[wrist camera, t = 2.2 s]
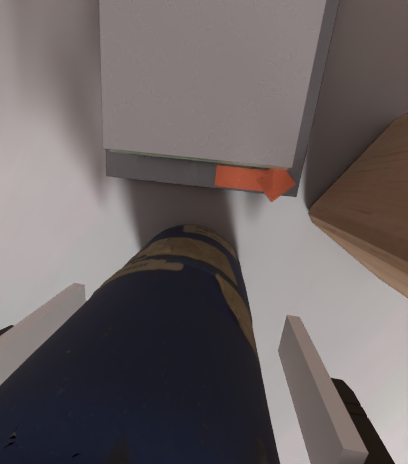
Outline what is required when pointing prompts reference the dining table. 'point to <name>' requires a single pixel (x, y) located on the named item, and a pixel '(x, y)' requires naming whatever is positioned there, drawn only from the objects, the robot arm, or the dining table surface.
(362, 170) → the block
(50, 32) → the dining table surface
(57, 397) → the canister
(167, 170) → the stand
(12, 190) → the dining table surface
